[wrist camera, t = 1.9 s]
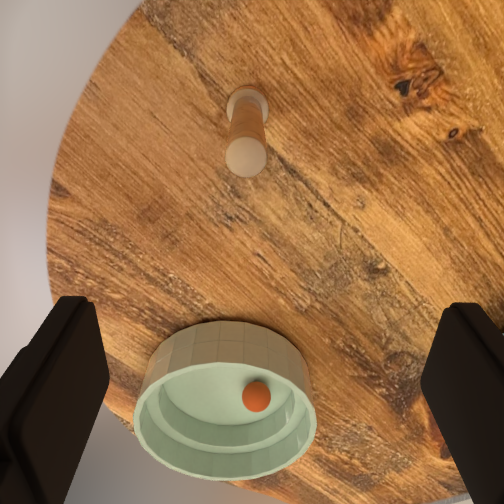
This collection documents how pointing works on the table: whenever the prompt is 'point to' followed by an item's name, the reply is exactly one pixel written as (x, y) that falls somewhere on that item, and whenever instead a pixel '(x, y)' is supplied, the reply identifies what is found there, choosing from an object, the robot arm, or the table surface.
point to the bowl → (225, 402)
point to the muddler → (247, 132)
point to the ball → (256, 396)
